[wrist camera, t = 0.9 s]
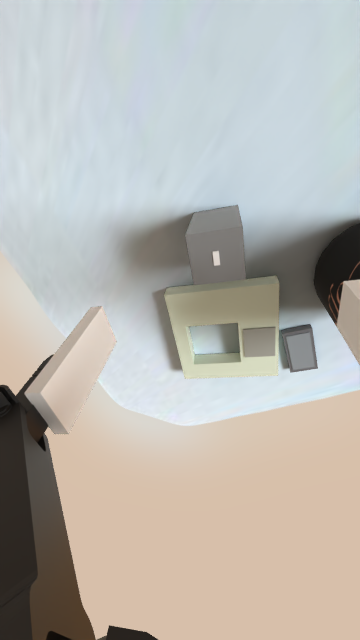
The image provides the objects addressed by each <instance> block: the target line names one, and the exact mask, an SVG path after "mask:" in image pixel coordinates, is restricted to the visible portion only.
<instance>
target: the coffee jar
mask: <svg viewBox="0 0 360 640" xmlns="http://www.w3.org/2000/svg"><path fill="white" fill-rule="evenodd" d="M351 280H360V224H357V225H355V226H352V227H350V228H349V229H348V230H346V231H345V232H343V233H342V234H340V235H339V236H338V237H336V238H335V239H334V240H333V241H332V242H331V243H330V245H329V246H328V247H327V248H326V249H325V250H324V251H323V253H322V255H321V257H320V259H319V261H318V264H317V266H316V269H315V277H314V284H315V288H316V292H317V295H318V297H319V298H320V300H321V302H322V303H323V305H324V307H325V308H326V310H327V311H328V313H329V315H330V316H331V318H332V320H333V321H334V323H335V325H336V326H337V320H338V314H339V307H340V301H341V295H342V288H343V282H344V281H351Z"/></svg>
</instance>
